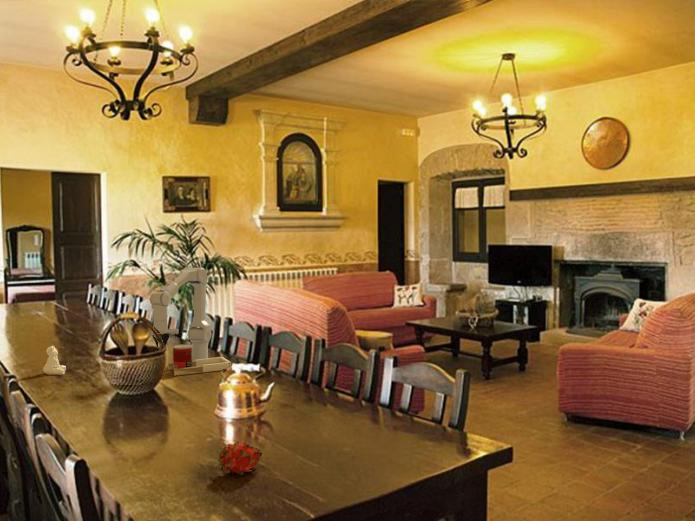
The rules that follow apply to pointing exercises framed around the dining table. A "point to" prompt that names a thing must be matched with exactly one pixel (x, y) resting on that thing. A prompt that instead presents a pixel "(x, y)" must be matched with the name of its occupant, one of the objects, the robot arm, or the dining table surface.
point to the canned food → (182, 356)
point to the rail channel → (186, 369)
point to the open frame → (213, 364)
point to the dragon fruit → (239, 458)
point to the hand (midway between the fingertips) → (161, 351)
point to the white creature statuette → (53, 363)
